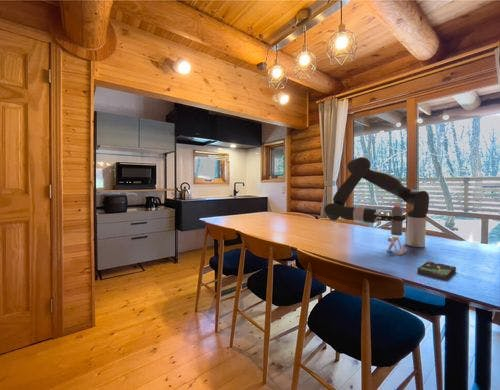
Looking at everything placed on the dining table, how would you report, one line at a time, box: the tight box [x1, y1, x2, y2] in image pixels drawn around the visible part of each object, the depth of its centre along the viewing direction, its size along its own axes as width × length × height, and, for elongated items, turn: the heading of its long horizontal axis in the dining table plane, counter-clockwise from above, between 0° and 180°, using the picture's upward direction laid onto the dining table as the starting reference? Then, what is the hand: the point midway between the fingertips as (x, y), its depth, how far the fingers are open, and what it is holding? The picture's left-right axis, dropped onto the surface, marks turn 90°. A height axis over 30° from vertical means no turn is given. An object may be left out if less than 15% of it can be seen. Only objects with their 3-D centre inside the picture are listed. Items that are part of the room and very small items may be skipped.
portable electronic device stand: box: [386, 235, 408, 256], centre depth 135 cm, size 9×8×8 cm
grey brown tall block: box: [390, 201, 404, 237], centre depth 116 cm, size 4×4×15 cm
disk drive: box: [416, 260, 457, 281], centre depth 106 cm, size 10×3×15 cm
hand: (403, 218), depth 114 cm, fingers closed on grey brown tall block, 4 cm apart
